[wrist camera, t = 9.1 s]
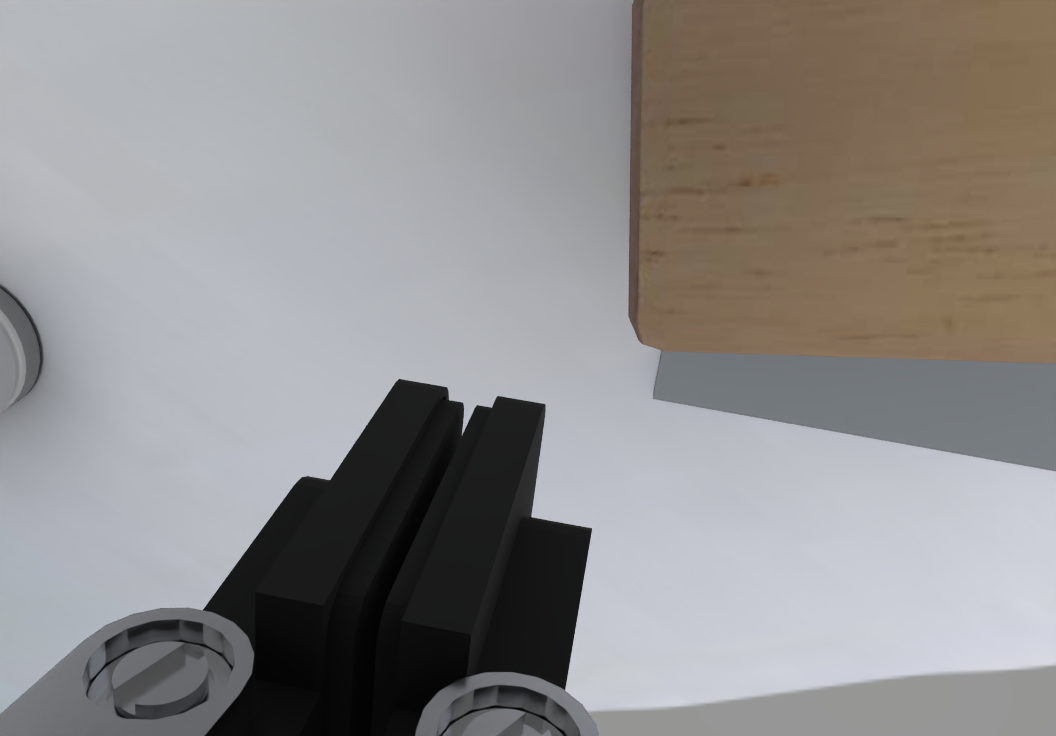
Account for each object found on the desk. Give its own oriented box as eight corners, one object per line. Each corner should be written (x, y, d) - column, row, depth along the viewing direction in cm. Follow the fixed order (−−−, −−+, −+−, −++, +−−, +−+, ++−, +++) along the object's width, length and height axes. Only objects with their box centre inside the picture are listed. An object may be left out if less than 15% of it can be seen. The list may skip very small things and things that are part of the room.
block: (643, 259, 35) (1252, 270, 32) (625, 363, 26) (1475, 392, 23) (649, -39, 31) (1341, -61, 28) (630, -41, 22) (1652, -74, 19)
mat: (753, -120, 30) (754, -122, 30) (1506, -26, 28) (1522, -26, 28) (653, 392, 38) (652, 398, 37) (1246, 498, 35) (1255, 507, 35)
